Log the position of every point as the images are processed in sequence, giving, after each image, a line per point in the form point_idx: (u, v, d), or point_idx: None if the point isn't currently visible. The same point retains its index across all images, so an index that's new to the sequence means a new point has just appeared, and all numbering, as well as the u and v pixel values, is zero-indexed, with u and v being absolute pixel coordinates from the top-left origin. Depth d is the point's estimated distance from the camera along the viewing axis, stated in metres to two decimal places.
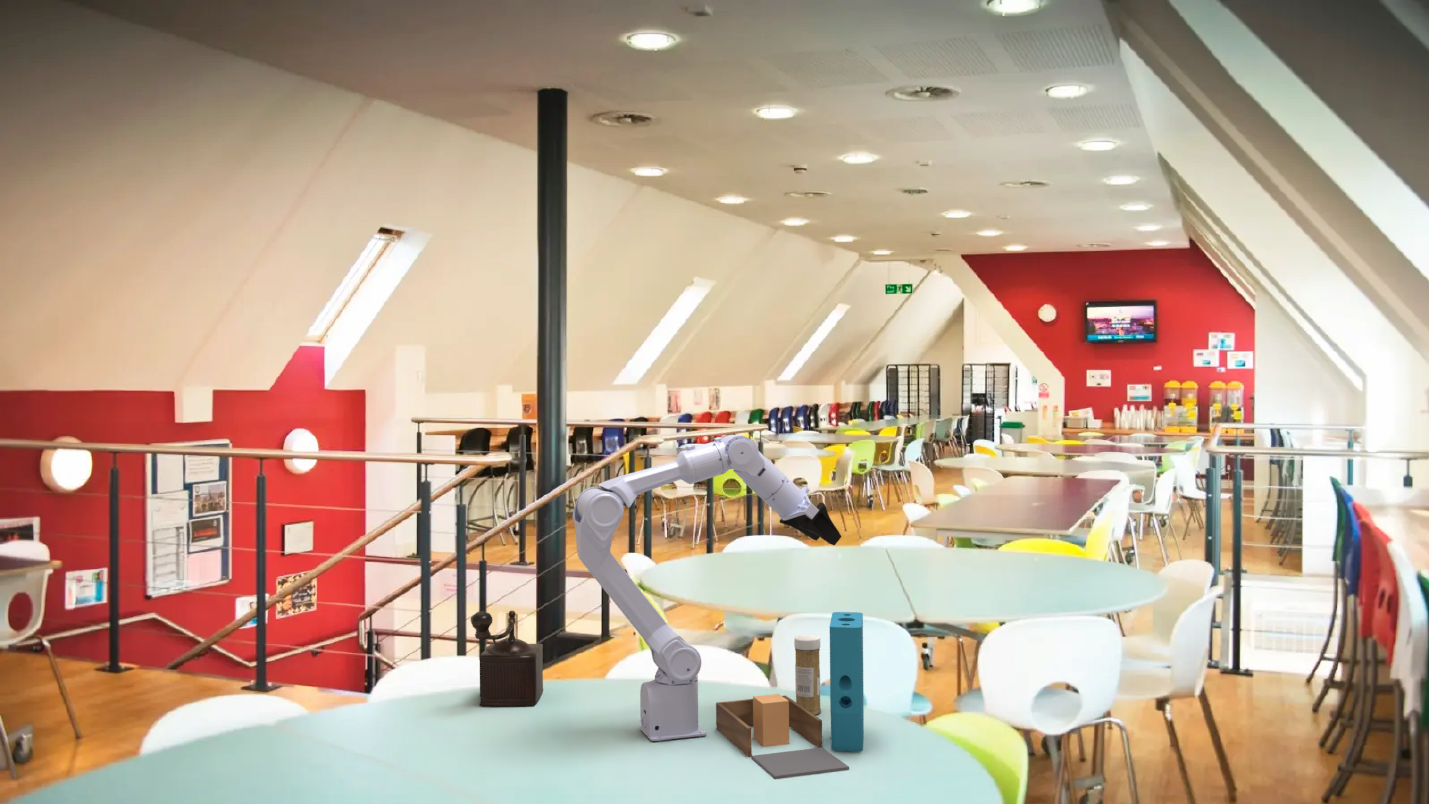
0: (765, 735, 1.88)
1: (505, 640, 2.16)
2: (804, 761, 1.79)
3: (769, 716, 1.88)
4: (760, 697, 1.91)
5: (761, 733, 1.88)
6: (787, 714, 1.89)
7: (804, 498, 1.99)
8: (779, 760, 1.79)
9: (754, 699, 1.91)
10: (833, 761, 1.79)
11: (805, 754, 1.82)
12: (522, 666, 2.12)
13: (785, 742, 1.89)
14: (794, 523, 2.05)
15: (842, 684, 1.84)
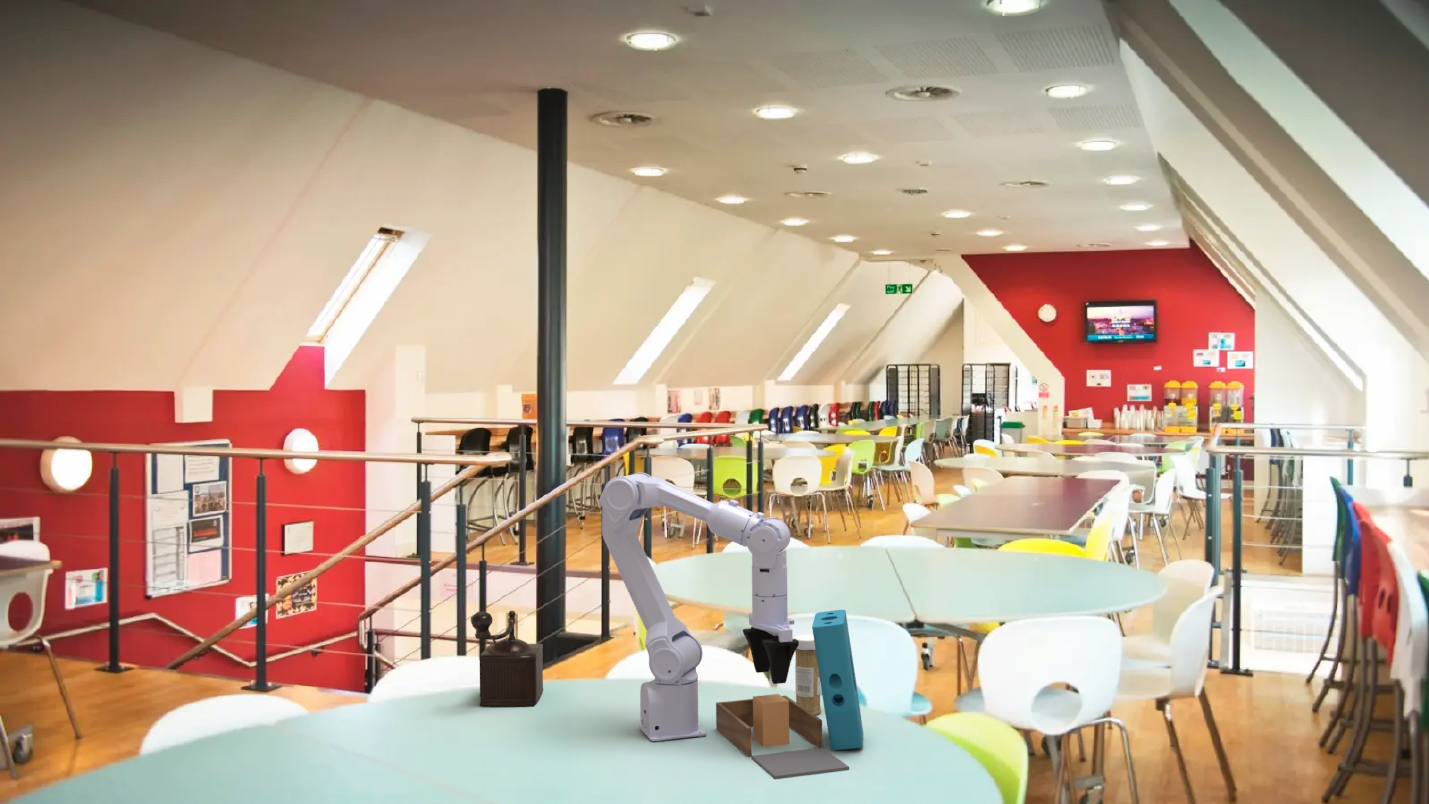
0: (765, 735, 1.88)
1: (505, 640, 2.16)
2: (804, 761, 1.79)
3: (769, 716, 1.88)
4: (760, 697, 1.91)
5: (761, 733, 1.88)
6: (787, 714, 1.89)
7: (785, 624, 1.88)
8: (779, 760, 1.79)
9: (754, 699, 1.91)
10: (833, 761, 1.79)
11: (805, 754, 1.82)
12: (522, 666, 2.12)
13: (785, 742, 1.89)
14: (754, 641, 1.93)
15: (832, 683, 1.84)
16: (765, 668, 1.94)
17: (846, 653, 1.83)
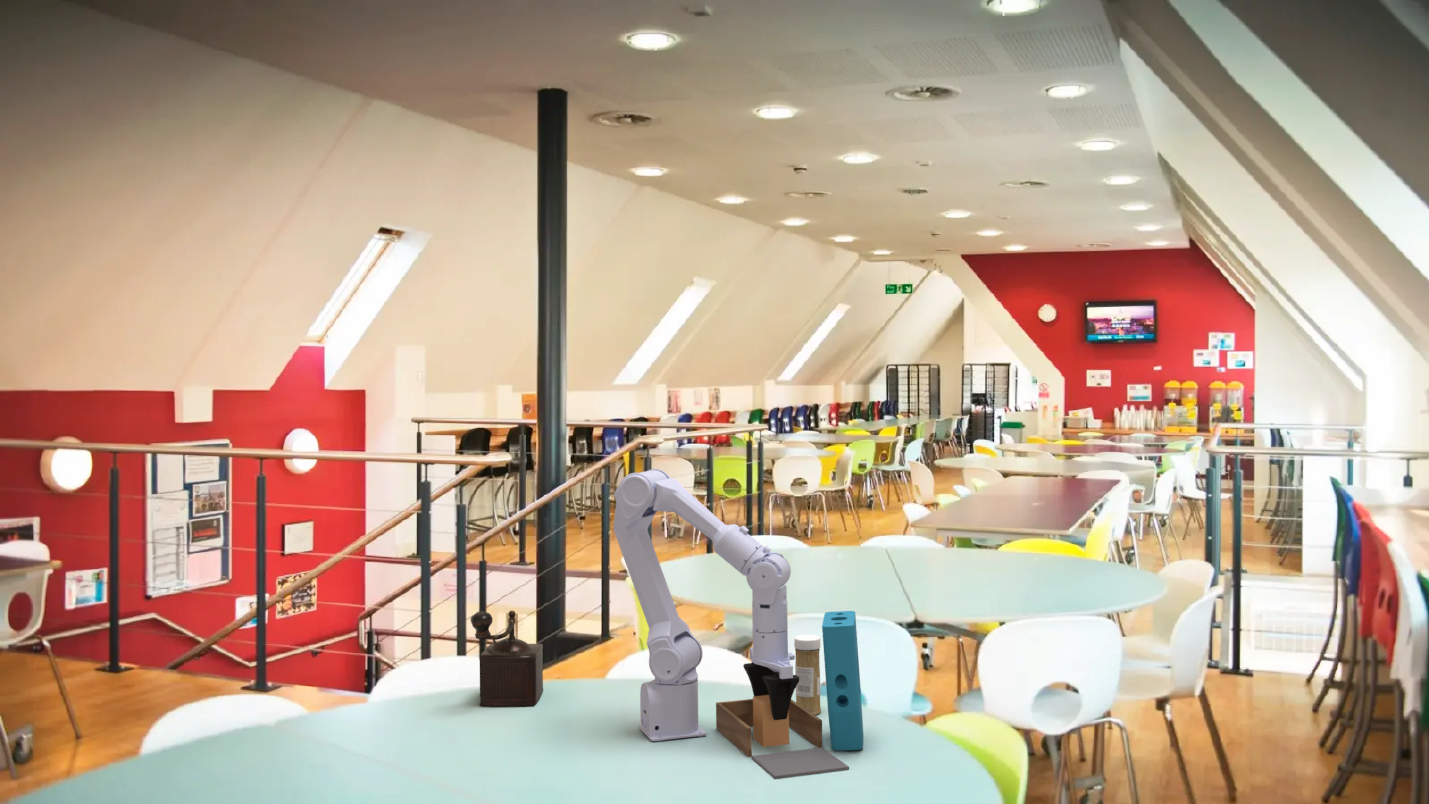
0: (765, 735, 1.88)
1: (505, 640, 2.16)
2: (804, 761, 1.79)
3: (769, 716, 1.88)
4: (760, 697, 1.91)
5: (761, 733, 1.88)
6: None
7: (786, 660, 1.88)
8: (779, 760, 1.79)
9: (754, 699, 1.91)
10: (833, 761, 1.79)
11: (805, 754, 1.82)
12: (522, 666, 2.12)
13: (785, 742, 1.89)
14: (754, 676, 1.93)
15: (837, 683, 1.84)
16: None
17: (854, 655, 1.83)
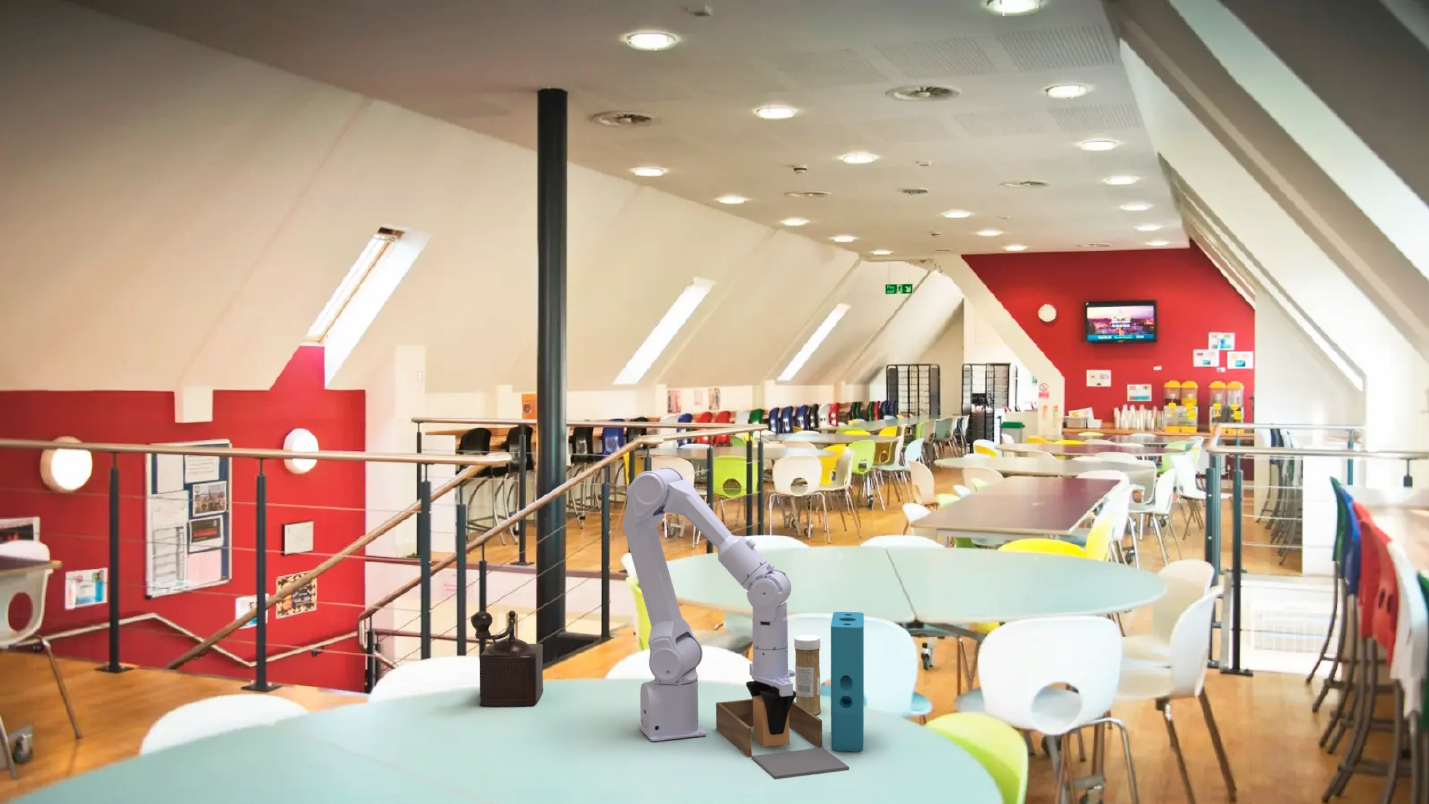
0: (765, 734, 1.88)
1: (505, 640, 2.16)
2: (804, 761, 1.79)
3: None
4: (760, 697, 1.91)
5: (762, 733, 1.88)
6: None
7: (786, 677, 1.88)
8: (779, 760, 1.79)
9: (754, 699, 1.91)
10: (833, 761, 1.79)
11: (805, 754, 1.82)
12: (522, 666, 2.12)
13: (785, 742, 1.89)
14: (757, 694, 1.92)
15: (842, 684, 1.84)
16: None
17: (861, 657, 1.83)
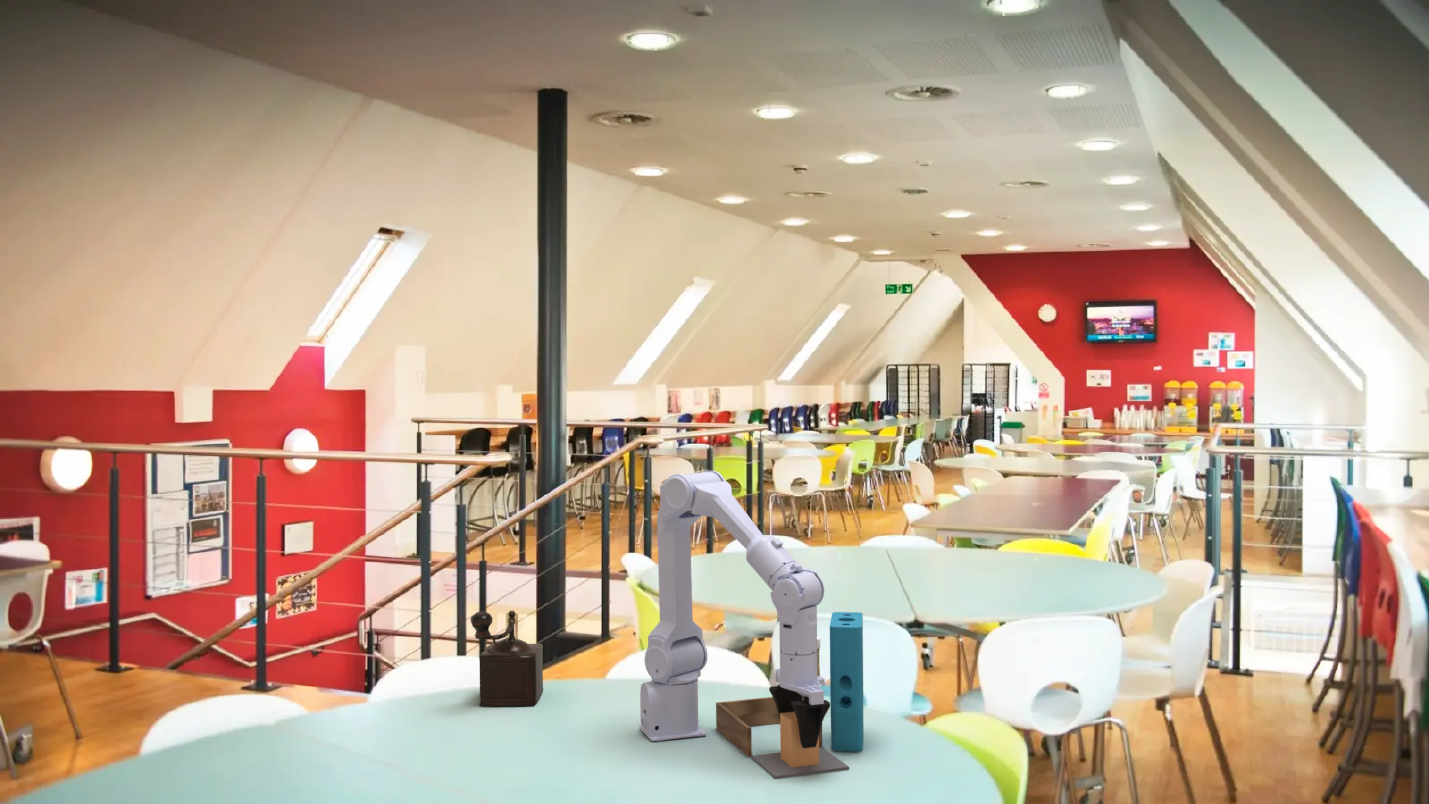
0: (794, 754, 1.76)
1: (505, 640, 2.16)
2: None
3: (798, 734, 1.76)
4: (788, 714, 1.80)
5: (790, 753, 1.77)
6: None
7: (815, 684, 1.77)
8: (779, 760, 1.79)
9: (782, 716, 1.79)
10: (833, 761, 1.79)
11: None
12: (522, 666, 2.12)
13: (815, 762, 1.77)
14: (781, 700, 1.82)
15: (842, 684, 1.84)
16: None
17: (860, 657, 1.83)
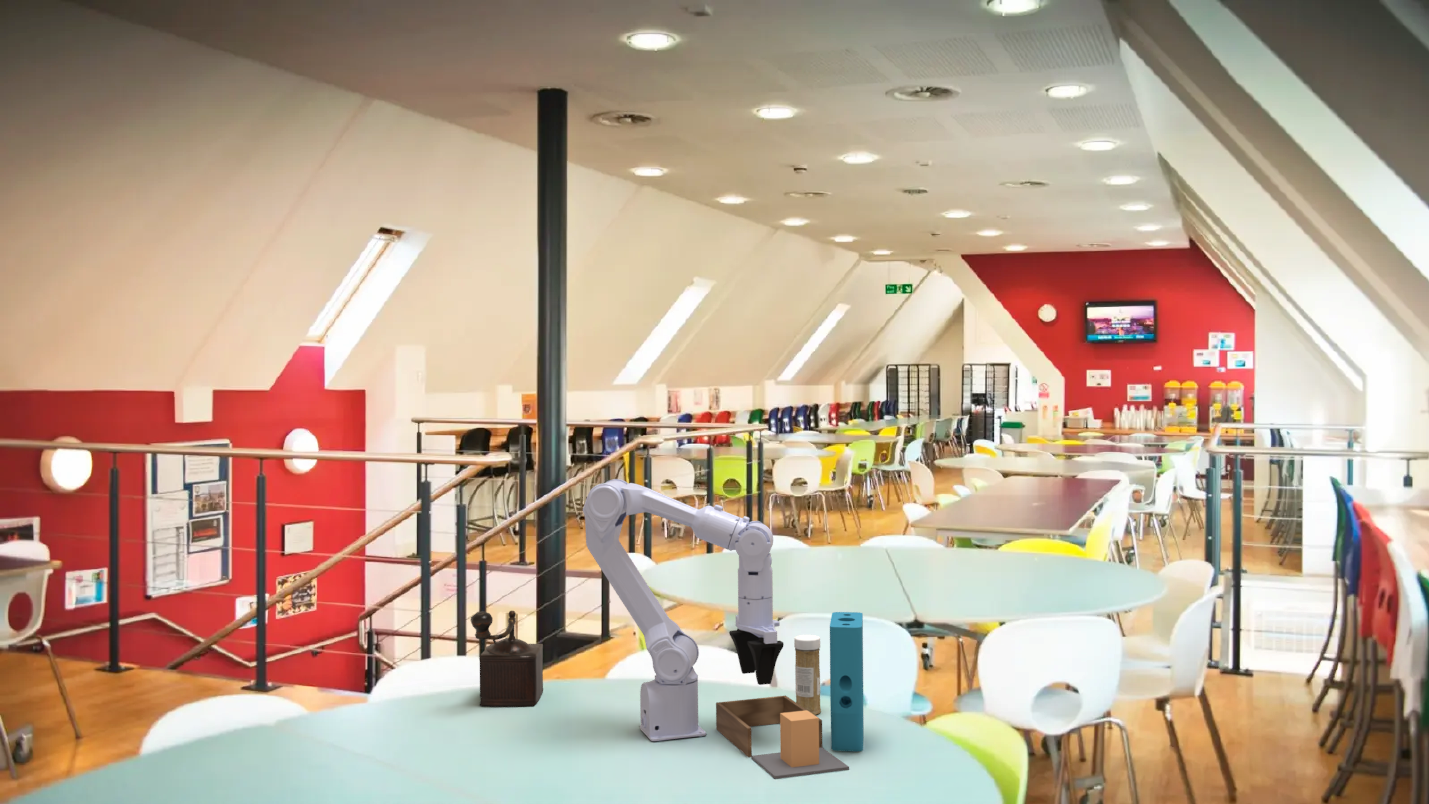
0: (794, 754, 1.76)
1: (505, 640, 2.16)
2: None
3: (798, 734, 1.76)
4: (788, 714, 1.80)
5: (790, 753, 1.77)
6: (817, 732, 1.77)
7: (771, 626, 1.91)
8: (779, 760, 1.79)
9: (782, 716, 1.79)
10: (833, 761, 1.79)
11: None
12: (522, 666, 2.12)
13: (815, 762, 1.77)
14: (740, 643, 1.97)
15: (842, 684, 1.84)
16: (751, 669, 1.97)
17: (860, 657, 1.83)
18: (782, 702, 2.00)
